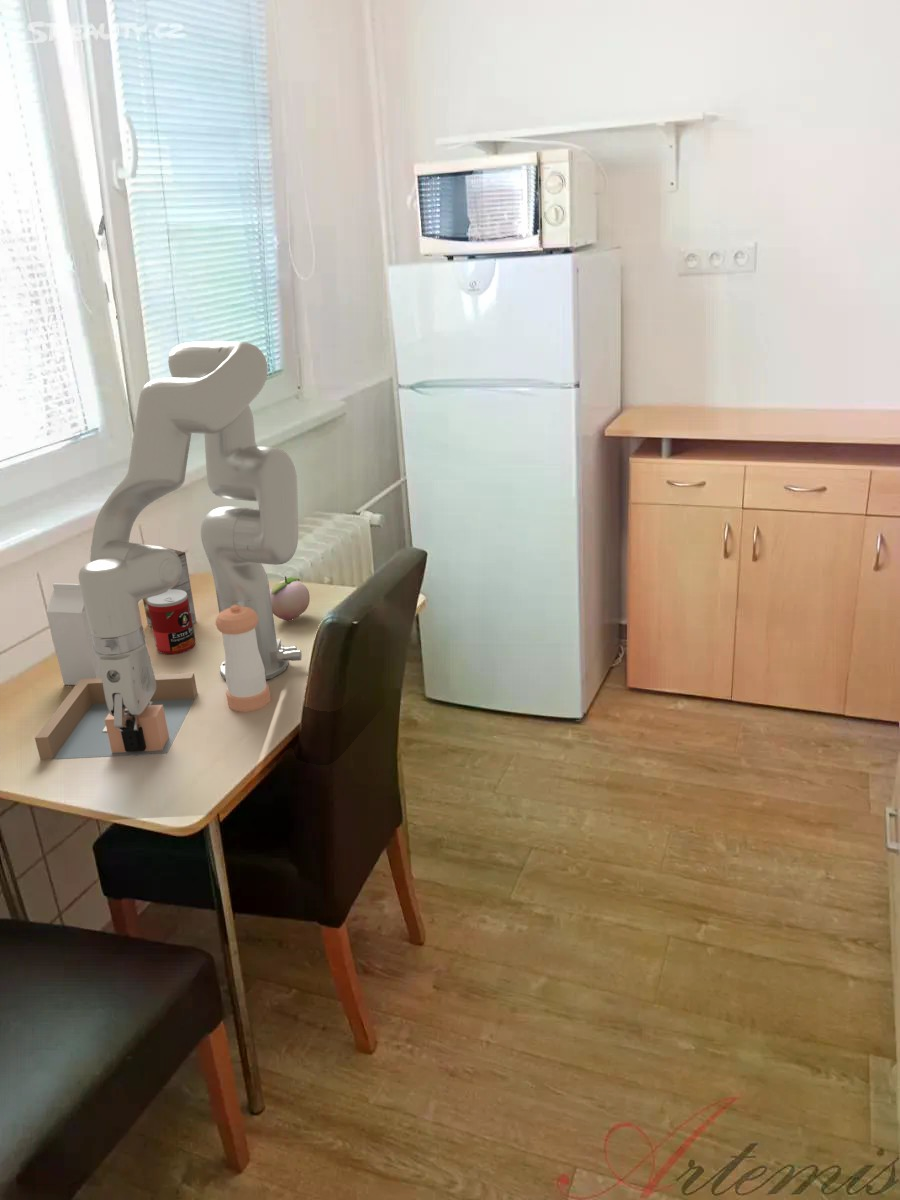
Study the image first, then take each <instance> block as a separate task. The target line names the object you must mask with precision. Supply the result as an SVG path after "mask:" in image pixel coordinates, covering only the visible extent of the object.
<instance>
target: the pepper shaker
mask: <svg viewBox="0 0 900 1200" xmlns="http://www.w3.org/2000/svg"><path fill="white" fill-rule="evenodd" d="M257 623H258V616H257V614H256V612H255V611H254V610H253V609H251V608H249V607H243V606H239V605H233V606H231V608H228V609H226V610H224V611H222V612H220V613H219V612H218V614H217V616H216V619H215V626H216V629H217V630H218V632H219V633H221V634H222V642H223V649H224V661H225V677H226V679H225V680H226V686H227V690H226V702H227V706H228V708H229V709H231V710H232V711H236V712H252V711H256V710H259V709H261V708H264V707H265V706H266V705H268V704H269V702H270V701H271V692H270V686H269V684H268V683H267V680H266V678H265V669H264V665H263V662H262V659H261V656H260V653H259V650H258V645H257V638H256V632H255V627H256V626H257Z"/></svg>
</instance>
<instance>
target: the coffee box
mask: <svg viewBox="0 0 900 1200" xmlns="http://www.w3.org/2000/svg"><path fill="white" fill-rule="evenodd" d="M168 549H170V550H172V551H173V552H175V553H176V554H177V555H178V557H179V558H180V560H181V563H182V574H181V577H180V579H179V581H178V582H177V584H176V585H175V586H174V587H173V588H172V589H177V590H183V591H185V592H186V593H187V596H188V601H189V606H190V612H191V618H192V624H193V625H194V624H196V623H197V617H196V612H195V604H194V603H195V602H194V599H193V592H192V587H191V580H190V579H191V578H190V573H189V568H188V562H187V561H188V560H187V554H186V552H185V551H182V550H176V549H172V548H169V547H168ZM147 602H148V601H147V598H145V599H142V603H143V606H144V612H145V618H146V621H147V622H146V623H147V625H149V626H151V627H152V624H151V619H150V614H149V609H148V603H147Z"/></svg>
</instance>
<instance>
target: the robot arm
mask: <svg viewBox="0 0 900 1200" xmlns="http://www.w3.org/2000/svg"><path fill="white" fill-rule="evenodd" d="M167 361H168V368H169V372H170V375H171V377H162V378H161V377H160V378H156V379H153V380H150V381H148V382H147V383H145V384H144V386H143V387H142V388H141V391H140V394H139V399H138V404H137V411H136V417H135V424H134V430H133V438H132V445H131V452H130V458H129V464H128V470H127V474H126V475H125V477H124V478H123V480H122V481H121V482H120V483H119V484H117V486H116V487H115V489H114V490H113V491H112V492H111V493H110V494H109V496H108V497H107V499H106V501H105V502H104V504H103V505H102V506H101V509H100V510H99V512H98V514H97V517H96V519H95V522H94V527H93V531H92V540H91V547H90V559H89V562H88V563H85V564H84V565H83V566H82V567H81V568H80V569H79V572H78V583H79V584H80V588H81V592H82V597H83V601H84V606H85V610H86V615H87V619H88V624H89V628H90V633H91V638H92V642H93V647H94V651H95V654H96V655H97V656H99V657H100V667H101V676H102V682H103V689H104V694H105V699H106V704H107V708H108V711H109V713H110V715H112V716H114V727H117V728H119V730H120V732H121V734H122V739H123V743H124V748H125V751H126V752H136V751H145V749H146V744H145V739H144V735H143V730H142V727H139V720H138V715H140V714H141V713H142V712H143V711H144V709H145V708H146V706H147V705H150V703H149V701H150V700H151V698H152V696H153V694H154V693H155V691H156V680H155V676H154V675H155V674H154V668H153V664H152V660H151V657H150V653H149V650H148V647H147V642H146V637H145V632H144V627H143V622H142V617H141V613H140V612H141V611H140V606H139V602H140V601H143V599H145V598H149V597H152V596H156V595H159V594H162V593H165V592H167V591H169V590H170V589H172V588H173V587H174V586H175V585H176V584H177V582H178V581H179V579H180V577H181V574H182V563H181V560H180V558H179V557H178V555H177V554H176V553H175V552H173V551H172V550H170V549H171V548H169V547H168V548H169V549H168V548H167V547H164V546H159V545H153V544H145V543H138V542H137V543H136V542H130V536H131V533H132V528H133V525H134V523H135V521H136V519H137V517H139V515H140V514H141V512H143V510H144V509H146V507H148V506H149V505H150V504H152V503H153V502H155V501H157V500H158V499H161V498H162V497H164V496H166V495H169V494H171V493H173V492H175V491H177V490H178V489H180V488H181V487H182V486H183V485H184V482H185V479H186V472H187V466H188V457H189V450H190V444H191V439H192V434H199V435H201V434H202V435H203V434H204V436H203V437H204V450H205V451H204V452H205V467H206V468H205V469H206V470H205V471H206V478H207V479H206V480H207V484H208V488H209V490H210V491H211V493H213V495H215V496H217V497H219V498H223V499H227V500H228V499H229V500H234V501H235V500H236V501H246V502H247V501H248V502H257V504H258V508H254V507H247V506H235V505H234V506H233V505H232V506H231V505H229V506H227V505H226V506H225V505H224V506H219V507H216V508H213V509H212V510H211V511H209V512H207V514H206V515H205V516H204V517H203V520H202V522H201V525H200V526H201V527H200V539H201V540H200V541H201V543H202V547H203V550H204V552H205V555H206V557H207V560H208V562H209V565H210V568H211V569H210V570H211V572H212V577H213V582H214V588H215V594H216V600H217V605H218V606H217V607H218V614H219V613H220V612H222V611H224V610H226V609H228V608H231V606H233V605H239V606H243V607H249V608H251V609H253V610H254V611H255V612H256V614H257V616H258V623H257V626H256V627H255V632H256V638H257V645H258V650H259V653H260V656H261V659H262V662H263V665H264V669H265V678H266V681H268V680H270V679H273V678H276V677H278V676H279V675H281V674H282V673H283V672H284V671H285V670H286V669H287V668H288V665H289V661H291V662H293V661H294V662H295V661H302V650H301V649H299V650H297V646H296V645H295V646H285V645H282V642H281V641H282V640H281V639H280V638H277V634H276V626H275V621H274V614H273V611H272V604H271V597H270V590H271V589H270V584H269V577H268V575H267V571H266V570H265V568H264V566H263V564H264V565H272V566H273V565H274V566H275V565H277V566H278V565H284V564H286V563H288V562H290V560H291V559H292V558H293V557H294V555H295V554H296V550H297V548H298V545H299V544H298V543H299V504H298V503H299V502H298V501H299V500H298V496H299V495H298V478H297V471H296V466H295V465H294V462H293V460H292V458H291V457H290V456H289V454H288V453H287V452H285V451H284V450H282V449H281V448H278V447H274V446H263V445H262V446H261V445H257V443H256V435H255V423H254V415H253V412H252V410H251V407H250V404H251V403H252V401H253V400H254V399H255V398H256V397H257V396H258V395H259V394H260V393H261V391H262V390H263V388H264V386H265V383H266V381H267V378H268V373H269V372H268V370H269V369H268V361H267V358H266V356H265V355H264V353H263V350H261V349H260V348H259V347H258V346H256V345H255V344H253V343H249V342H242V341H240V342H239V341H191V342H190V341H189V342H184V343H180V344H178V345H176V346H174V347H173V348H172V349H171V351H170V352H169V355H168V360H167ZM286 667H287V668H286ZM219 672H220V676H221V677H222V678H223V679H224V680H226V677H225V660H223V661H222V662H221V664H220V666H219ZM126 708H127V709H128V710H126V711H125V709H126ZM125 716H132V721H133V722H132V721H131V720H127V719H125Z"/></svg>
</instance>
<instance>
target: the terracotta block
mask: <svg viewBox="0 0 900 1200" xmlns="http://www.w3.org/2000/svg"><path fill="white" fill-rule="evenodd" d="M126 710H128V709H127V708H126V709H125V711H126ZM125 719H127V720H131V721H132V716H125ZM138 720H139V727H142V730H143V735H144V739H145V744H146V749H145V751H157V750H163V748H164V746H165V744H166V742H167V740H168V738H169V734H168V729H167V724H166V719H165V713H164V708H163V705H147V706H146V708H145V709H144V711H143V712H142V713H141V714H140V715H138ZM132 722H133V721H132ZM105 724H106V728H107V733H108V737H109V741H110V746H111V750H112V753H118V752H126V751H125V748H124V743H123V739H122V734H121V732H120V730H119V728H117V727H114V716H112V715H110V713H109V714H108V715H107V717H106V718H105ZM136 752H137V751H136Z"/></svg>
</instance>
